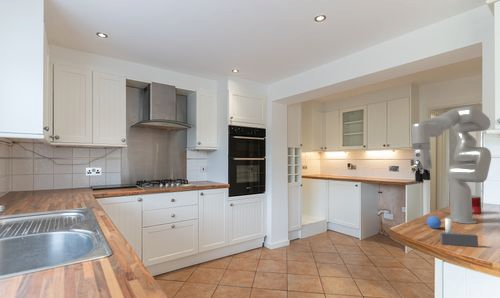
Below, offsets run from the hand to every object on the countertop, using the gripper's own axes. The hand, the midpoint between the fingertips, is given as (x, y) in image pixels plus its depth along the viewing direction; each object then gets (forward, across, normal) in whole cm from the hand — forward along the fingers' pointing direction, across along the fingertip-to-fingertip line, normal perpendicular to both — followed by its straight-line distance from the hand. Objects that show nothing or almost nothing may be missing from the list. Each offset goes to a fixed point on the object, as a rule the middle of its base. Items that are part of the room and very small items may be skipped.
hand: (423, 180), depth 128 cm
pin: (+24, -10, -12) cm, 29 cm away
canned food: (+25, +62, -6) cm, 67 cm away
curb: (+24, -17, -17) cm, 34 cm away
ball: (+21, +4, -2) cm, 22 cm away
